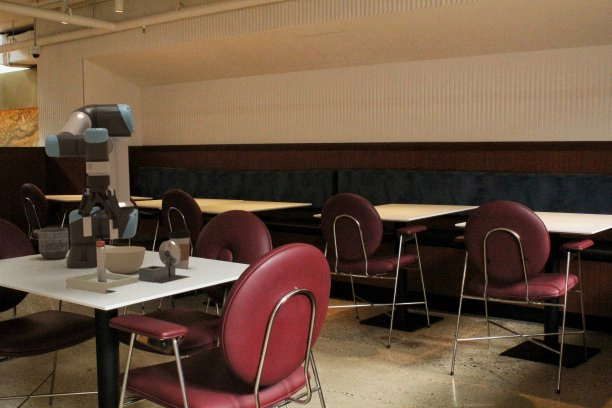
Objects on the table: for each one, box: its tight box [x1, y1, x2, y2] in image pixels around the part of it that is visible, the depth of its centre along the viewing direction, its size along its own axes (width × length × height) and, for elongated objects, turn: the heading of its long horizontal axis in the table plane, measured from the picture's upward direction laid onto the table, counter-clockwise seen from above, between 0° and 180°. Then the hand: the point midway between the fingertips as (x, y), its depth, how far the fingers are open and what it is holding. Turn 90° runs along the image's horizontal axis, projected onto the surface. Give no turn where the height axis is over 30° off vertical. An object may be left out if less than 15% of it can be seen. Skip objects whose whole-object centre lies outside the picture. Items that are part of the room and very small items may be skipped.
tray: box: [65, 271, 139, 295], centre depth 231 cm, size 20×14×3 cm
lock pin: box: [96, 240, 107, 283], centre depth 231 cm, size 3×3×15 cm
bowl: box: [105, 245, 146, 275], centre depth 250 cm, size 16×16×10 cm
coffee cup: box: [168, 229, 192, 270], centre depth 264 cm, size 8×8×15 cm
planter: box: [37, 227, 70, 261], centre depth 296 cm, size 12×12×13 cm
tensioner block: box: [137, 239, 190, 285], centre depth 238 cm, size 16×14×14 cm
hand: (100, 237), depth 230 cm, fingers open, 13 cm apart
